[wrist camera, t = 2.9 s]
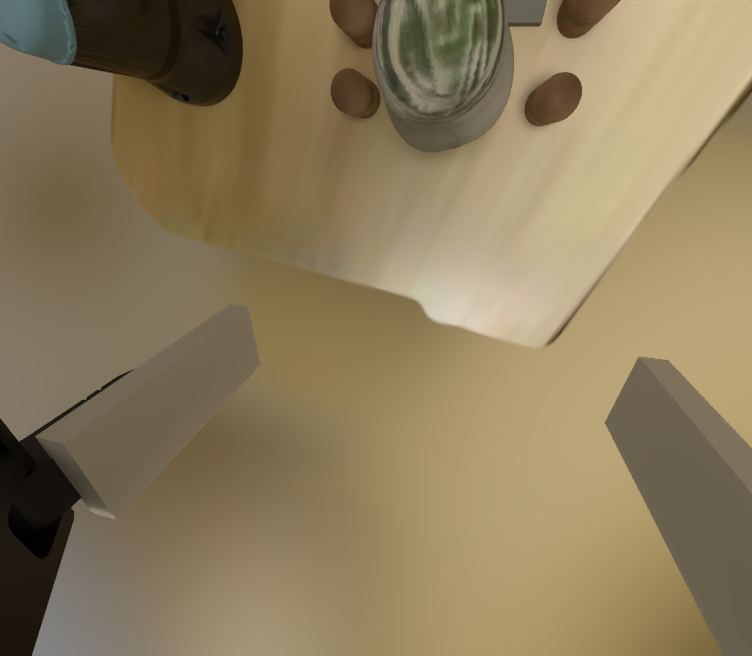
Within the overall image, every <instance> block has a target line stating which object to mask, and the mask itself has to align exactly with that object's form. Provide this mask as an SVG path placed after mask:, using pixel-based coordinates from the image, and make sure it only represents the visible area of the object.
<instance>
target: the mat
mask: <svg viewBox="0 0 752 656" xmlns="http://www.w3.org/2000/svg"><path fill="white" fill-rule="evenodd" d="M546 2H547V0H504V3H505V9H506V17H507V23H508V26H540V25H541V23H542V19H543V15H544V11H545V7H546Z"/></svg>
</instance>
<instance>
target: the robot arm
mask: <svg viewBox="0 0 752 656" xmlns="http://www.w3.org/2000/svg"><path fill="white" fill-rule="evenodd" d="M0 42H1V43H3V44H5V45H6V46H8V47H10V48H12V49H15V50H17V51H20V52H23V53H26V54H30V55H33V56H37V57H40V58H44V59H47V60H50V61H51V62H54V63H56V64H60V65H67V64H68V65H73V66H78V67H83V68H88V69H94V70H99V71H104V72H109V73H114V74H120V75H125V76H130V77H135V78H140V79H144V80H146V81H147V82H149V83H150V84H152V85H153V86H155V87H157V88H158V89H160V90H161V91H163V92H164V93H166V94H167V95H169V96H171V97H172V98H174V99H176V100H178V101H181V102H184V103H187V104H193V105H199V106H209V105H213V104H216V103H218V102H220V101H222V100H223V99H224V98H225V97H226V96H227V95H228V94H229V93H230V92H231V90H232V89H233V87H234V85H235V83H236V81H237V79H238V76H239V72H240V68H241V61H242V37H241V30H240V25H239V21H238V17H237V14H236V11H235V8H234V5H233V3H232V1H231V0H0ZM259 366H260V361H259V356H258V352H257V346H256V341H255V337H254V332H253V327H252V322H251V318H250V313H249V308H248V306H240V305H232V304H230V305H229V306H227V307H226V308H224V309H223V310H221V311H220V312H218V313H217V314H215V315H214V316H212V317H211V318H210V319H208V320H207V321H205V322H204V323H202V324H201V325H199V326H198V327H196V328H195V329H193V330H192V331H190V332H189V333H187V334H186V335H184V336H183V337H182V338H180V339H179V340H177V341H175V342H174V343H173V344H171V345H170V346H168V347H167V348H165V349H164V350H162V351H161V352H159V353H158V354H156V355H155V356H153V357H152V358H150V359H149V360H147V361H146V362H145V363H143V364H141V365H140V366H139V367H137V368H135V369H133V370H131V371H129V372H127V373H124V374H122V375H120V376H118V377H116V378H115V379H113V380H112V381H111V382H109V383H107V384H106V385H104V386H103V387H101V390H97V391H95V392H94V393H92V394H91V395H89V396H88V397H87V399H86V400H82V401H80V402H79V403H77V404H76V405H75V406H73V407H71V408H70V409H68V410H67V411H65V412H64V413H62V414H61V415H59V416H58V417H56V418H55V419H53V420H52V421H50V422H49V423H47V424H46V425H44V426H43V427H41V428H40V429H38V430H37V431H35V432H34V433H32V434H31V435H29V436H28V437H26V438H24V439H23V440H21V441H18V440H17V439H16V438H15V437H14V435H13V434H12V433H11V432H10V430H9V429H8V428H7V426H6V425H5V424H4V422H3V421H2V420H1V419H0V656H32V653H33V650H34V647H35V643H36V640H37V637H38V634H39V630H40V627H41V624H42V621H43V618H44V614H45V611H46V608H47V604H48V601H49V598H50V595H51V592H52V588H53V585H54V582H55V579H56V575H57V572H58V569H59V566H60V563H61V559H62V556H63V553H64V549H65V546H66V543H67V540H68V536H69V534H70V530H71V527H72V524H73V521H74V511H73V510H72V508H71V507H72V506H73V505H74V504H75V503H76V502H77V501H78V500H79V499H80V498H82V500H83V501H84V503H85V504H86V505H87V507H88V508H89V509H90V511H91V512H93V513H96V514H99V515H102V516H106V517H109V518H112V519H115V520H116V519H117V518H118V517H119V516H120V515H121V514H122V513H123V512H124V511H125V509H127V507H128V506H129V505H130V504H131V503H132V502H133V501H134V500H135V499H136V498H137V497H138V496H139V495H140V493H141V492H142V491H143V490H144V489H145V488H146V487H147V486H148V485H149V484H150V483H151V482H152V481H153V480H154V479H155V477H156V476H157V475H158V474H159V473H160V472H161V471H162V470H163V469H164V468H165V467H166V466H167V465H168V464H169V462H170V461H171V460H172V459H173V458H174V457H175V456H176V455H177V454H178V453H179V452H180V451H181V450H182V449H183V447H184V446H185V445H186V444H187V443H188V442H189V441H190V440H191V439H192V438H193V436H195V435H196V433H197V432H198V431H199V430H200V429H201V428H202V427H203V426H204V425H205V424H206V423H207V422H208V421H209V420H210V418H211V417H212V416H213V415H214V414H215V413H216V412H217V411H218V410H219V409H220V408H221V407H222V406H223V404H225V402H226V401H227V400H228V399H229V398H230V397H231V396H232V395H233V394H234V393H235V392H236V390H238V388H239V387H240V386H241V385H242V384H243V383H244V382H245V381H246V380H247V379H248V378H249V377H250V376H251V374H253V372H254V371H255V370H256V369H257V368H258V367H259ZM605 424H606V426H607V428H608V430H609V432H610V434H611V435H612V438H613V440H614V441H615V443H616V446H617V448H618V450H619V452H620V453H621V456H622V458H623V460H624V462H625V464H626V465H627V467H628V469H629V471H630V473H631V475H632V477H633V479H634V481H635V483H636V485H637V487H638V489H639V491H640V493H641V495H642V497H643V499H644V501H645V503H646V505H647V507H648V509H649V511H650V513H651V515H652V517H653V519H654V521H655V523H656V525H657V527H658V529H659V531H660V533H661V535H662V536H663V539H664V541H665V543H666V545H667V547H668V548H669V550H670V552H671V554H672V556H673V558H674V560H675V562H676V564H677V566H678V568H679V570H680V572H681V574H682V576H683V578H684V580H685V582H686V584H687V586H688V588H689V590H690V592H691V594H692V596H693V598H694V600H695V602H696V604H697V606H698V608H699V610H700V612H701V614H702V616H703V618H704V620H705V621H706V624H707V625H708V627H709V630H710V632H711V633H712V635H713V637H714V639H715V641H716V643H717V645H718V647H719V649H720V651H721V653H722V655H723V656H752V448H751V447H750V446H749V445H748V444H747V443H746V442H745V441H744V440H743V439H742V438H741V436H740V435H739V434H738V433H737V432H736V431H735V430H734V429H733V428H732V427H731V426H730V425H729V424H728V423H727V422H726V421H725V420H724V419H723V418H722V417H721V415H720V414H719V413H718V412H717V411H716V410H715V409H714V408H713V407H712V406H711V405H710V404H709V403H708V402H707V401H706V400H705V398H704V397H703V396H702V395H701V394H700V393H699V392H698V391H697V390H696V389H695V388H694V387H693V386H692V385H691V384H690V383H689V382H688V381H687V380H686V378H685V377H684V376H683V375H682V374H681V373H680V372H679V371H678V370H677V369H676V368H675V367H674V366H673V365H672V364H671V363H670V362H669V361H668V360H661V359H654V358H646V357H638V359H637V361H636V363H635V365H634V367H633V369H632V371H631V373H630V375H629V377H628V378H627V380H626V382H625V384H624V386H623V388H622V390H621V392H620V394H619V396H618V398H617V400H616V402H615V404H614V406H613V408H612V410H611V412H610V413H609V415H608V418H607V419H606V421H605Z"/></svg>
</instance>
